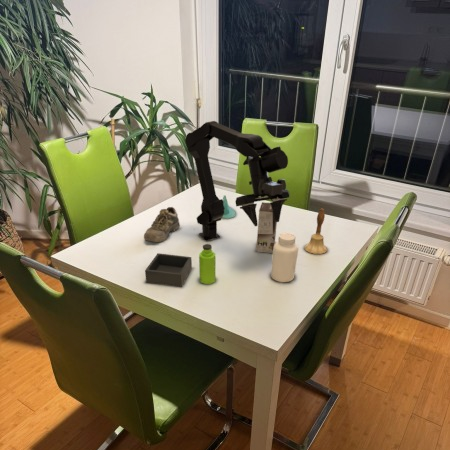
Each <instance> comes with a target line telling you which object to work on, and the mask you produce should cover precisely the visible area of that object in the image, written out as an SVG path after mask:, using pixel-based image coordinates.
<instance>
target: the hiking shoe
mask: <svg viewBox="0 0 450 450" xmlns="http://www.w3.org/2000/svg"><path fill="white" fill-rule="evenodd" d="M178 215H179V214H178V212H177V209H176V208H175V207H173V206H168V207H167V208H161V209H160V210H159V214H157V216H156V217H155V219H154V221H152V224H151V225H150V227H148V228H147V229H146V231H145V232H144V233H143V239H144V240H146V241H150V242H154V243H160V242H164V241H166V240H167V239H168V237H169V233H171V232H172V233H173V232H175V231H178V230H179V228H180V226H181V224H180V220H179V216H178Z"/></svg>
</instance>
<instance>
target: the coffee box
mask: <svg viewBox="0 0 450 450" xmlns="http://www.w3.org/2000/svg"><path fill="white" fill-rule="evenodd" d="M257 224H258V226H257V235H256V247H255V248H256V252H259V253H260V252H261V253H269V254H273V248H274V244H275V243H276V237H277V236H276V235H277V224H278V222H276V220H275V217H274V214H273V211H272V207H271V204H270V202H264V201H261V204H260V207H259V210H258V220H257Z"/></svg>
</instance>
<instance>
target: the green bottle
mask: <svg viewBox="0 0 450 450" xmlns="http://www.w3.org/2000/svg"><path fill="white" fill-rule="evenodd" d="M212 247H213V246H212V244H210V243H205V244H203V245H202V250H201V252H199V254H198V262H199V263H198V264H199V266H198V268H199V269H198V270H199V271H198V272H199V282H200V283H201V284H204V285H211V284H214V283H215V282H216V252H214V251H213V250H212V249H213V248H212Z"/></svg>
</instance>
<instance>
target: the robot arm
mask: <svg viewBox="0 0 450 450" xmlns="http://www.w3.org/2000/svg"><path fill="white" fill-rule="evenodd" d="M214 138H215V139H217V140H219V141H222V142H223V143H226V144H227V145H230V146H232V147H234V149H235V150H236V151H237V153H238V154H241V155H242V156H243V157H245V159H244V161H243V163H242V164H243V166H248V169H249V176H250V181H248V185H249V186H250V185H251V188H252V193H251V194H243V195H241V196H237V197H236V198H235V207H239V209H242V210H243V212H244V213H245V215H246V216H247V217H248V218H249V220H250V221H251V223H252V225H253V226H254V227H258V218H257V211H256V209H257V205H258V203H256V202H264V201H269V200H270V202H269V203H270V204H271V207H272V211H273V214H274V217H275V220H276V222H277V223H279V222H280V219H281V213H282V208H283V205H284V204H285V203H286V201H288V199H289V198H291V196H290V191H289V190H288V189H287V181H286V179H285V178H284V179H283V178H281V179H280V178H279V179H277V180H276V181H273V178H272V176H269V174H271V173H275V172H279V171H281V170H284V169H286V168H287V167H288V165H289V157H288V155H287V154H286V152H285V151H284V150H282V148H281V146H280V145H278V146H276V147H275V146H274V147H273V148H271V147H270V146H269V145H268V143H266V142H265V141H264V139H263V137H262V136H261V135H259V134H253V133H242V132H240V131H237V130H235V129H233V128H230V127H228V126H225V125H223V124H221V123H219V122H217V121H216V120H211V121H206V122H204V123H203V124H202V125H201V126H199V127H198V128H195V130H193V131H191V132H188V133H187V134H186V135H185V138H184V143H185V145H186V148H187V152H188V153H189V154H190V155H191V157H192V158H193V160H194V164H195V167H196V168H195V169H196V172H197V176H198V177H197V178H198V182H199V186H200V189H201V190H200V191H201V194H202V202H201V204H200V209H201V213H200V214H199V215H198V216H196V222H197V224H199V225H201V232H199V233H198V235H199V237H201V238H202V239H203V240H204V241H206V242H207V241H211V240H215V239H220V238H221V235H219V234H218V225H217V223H218V222H219V221H222V220H223V219H222V217H223V215H224V210H225V208H224V205H223V198H222V199H221V198H219V197H218V196H217V193H216V189H215V184H214V178H213V174H212V169H211V164H210V160H209V153H210V149H211V143H210V141H211V140H213V139H214Z"/></svg>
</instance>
